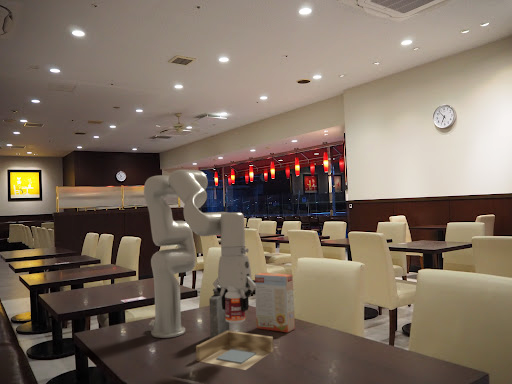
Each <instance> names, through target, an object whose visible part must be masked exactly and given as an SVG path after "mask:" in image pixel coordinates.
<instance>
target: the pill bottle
mask: <svg viewBox="0 0 512 384" xmlns="http://www.w3.org/2000/svg"><path fill="white" fill-rule="evenodd" d="M227 290H228V292H227V293H226V294H225V318H226V321H227V322H229V324H239V323H242V322H243V323H244V321H245V320H246V311H244V312H242V311H241V298H242V295H241V292H240V290H239V289H235V288H234V287H230V286H228V288H227Z"/></svg>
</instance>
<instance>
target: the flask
mask: <svg viewBox="0 0 512 384" xmlns="http://www.w3.org/2000/svg"><path fill="white" fill-rule="evenodd" d="M212 291H213V295H211V296H210V297H209V302H208V303H209V328H210V329H209V331H210V334H209V335H210V336H209V337H210V339H211V338H213V337H215V336H217V335H219V334H221V333H223V332H225V331H227V330H228V331H230V323H229V322H227V321H226V318H225V310H223V309H222V297H221V296H220V294H219V292H218V291H217V289H216V288H215V287H214V288H212Z"/></svg>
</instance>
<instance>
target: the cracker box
mask: <svg viewBox="0 0 512 384" xmlns="http://www.w3.org/2000/svg"><path fill="white" fill-rule="evenodd" d="M254 283H255V284H256V285H257V288H256V289H255V290H254V292H255V295H254V296H255V321H256V322H255V323H256V324H255V325H256V329H260V330H266V331H274V332H275V331H276V332H282V333H290V332H292V331H293V330H295V329H296V326H295V325H296V324H295V323H296V322H295V320H296V319H295V300H294V299H295V297H294V274H292V273H290V274H289V273H274V272H260V273H257V274H255V275H254Z"/></svg>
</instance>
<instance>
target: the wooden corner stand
mask: <svg viewBox="0 0 512 384" xmlns="http://www.w3.org/2000/svg"><path fill="white" fill-rule="evenodd" d="M231 349H236V350H242V351H248V352H254V353H256V355H254V356H253V357H251V358H250V359H248V360H247V361H245V362H244V363H242V364H239V363H234V362H228V361H223V360H217V359H216V358H217V357H219V356H221V355H222V354H224V353H226V352H228V351H229V350H231ZM273 352H274V337H273V336H269V335H263V334H256V333H248V332H242V331H241V332H240V331H234V330H229V331H228V330H227V331H225V332H223V333H221V334H219V335H217V336H215V337H213V338H211V337H210V338H209V339H207V340H206V341H203V342H201V343H200V344H197V345H196V346H195V358H196V359H195V360H196V362H199V363H206V364H211V365H216V366H222V367H227V368H232V369H237V370H242V371H243V370H244V371H247V370H248V369H250V368H251V367H252V366H254V365H255V364H257V363H258V362H260V361H261V360H262V359H263V358H265V357H267V356H268V355H270V354H271V353H273Z"/></svg>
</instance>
